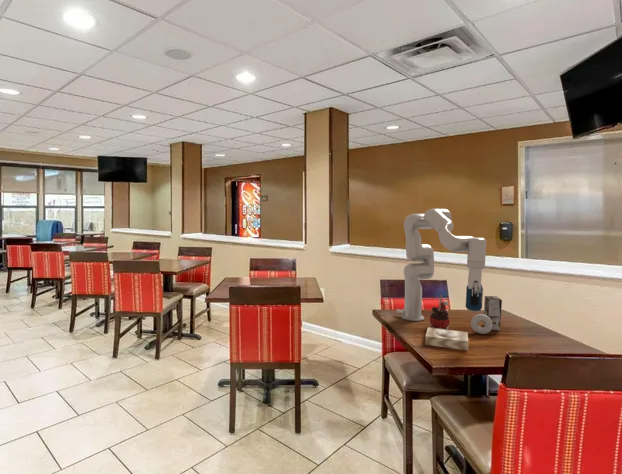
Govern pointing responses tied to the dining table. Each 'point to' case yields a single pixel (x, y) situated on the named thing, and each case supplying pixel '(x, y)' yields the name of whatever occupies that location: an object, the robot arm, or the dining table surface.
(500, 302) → the coffee box
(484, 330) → the donut
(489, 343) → the dining table surface
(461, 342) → the block
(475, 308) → the soda can
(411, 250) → the robot arm
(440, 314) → the cake
